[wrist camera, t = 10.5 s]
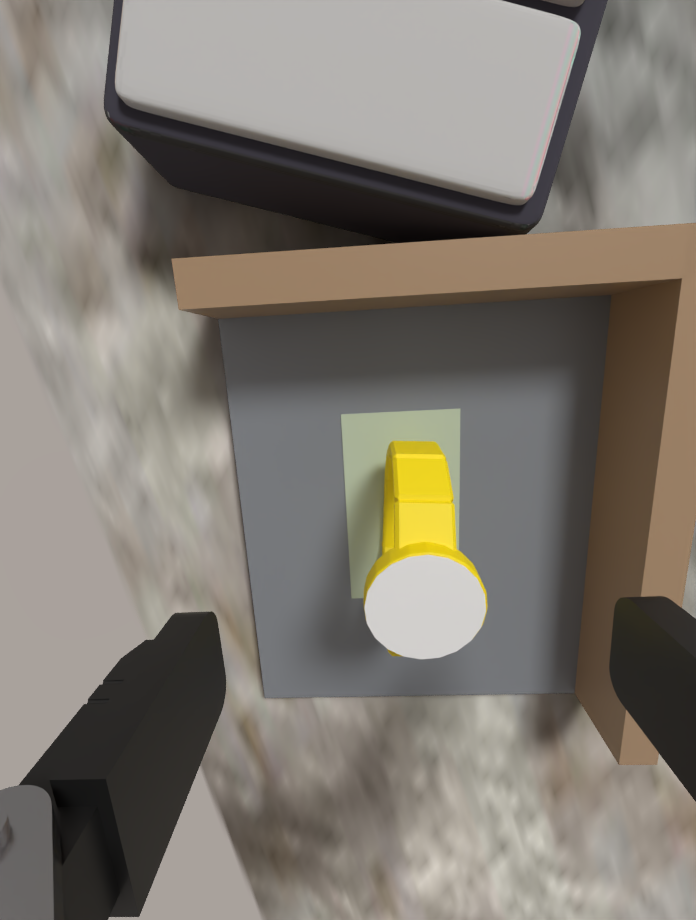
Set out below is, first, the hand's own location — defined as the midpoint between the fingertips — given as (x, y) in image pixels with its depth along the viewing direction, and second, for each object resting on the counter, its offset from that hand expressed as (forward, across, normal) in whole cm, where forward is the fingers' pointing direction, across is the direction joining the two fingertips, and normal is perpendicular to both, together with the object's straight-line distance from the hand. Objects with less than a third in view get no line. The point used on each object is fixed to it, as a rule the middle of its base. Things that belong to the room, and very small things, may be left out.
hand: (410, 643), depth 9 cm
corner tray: (+7, -2, 0) cm, 8 cm away
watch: (+7, 0, 0) cm, 7 cm away
